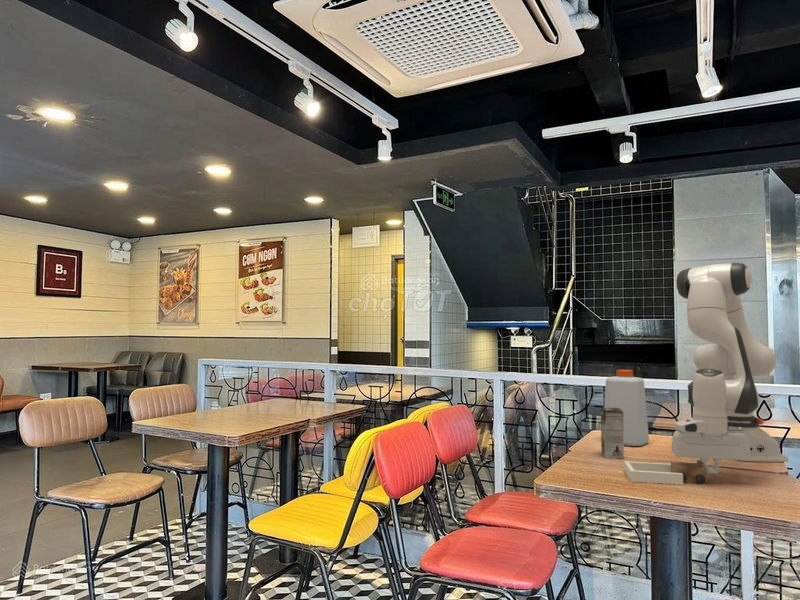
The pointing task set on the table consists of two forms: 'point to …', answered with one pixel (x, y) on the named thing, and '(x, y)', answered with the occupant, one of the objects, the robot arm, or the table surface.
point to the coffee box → (612, 433)
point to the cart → (690, 471)
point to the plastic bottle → (629, 405)
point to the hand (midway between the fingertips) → (710, 473)
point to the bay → (652, 473)
